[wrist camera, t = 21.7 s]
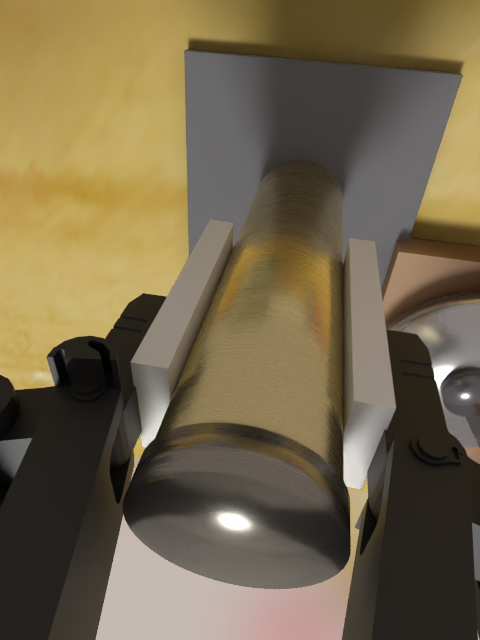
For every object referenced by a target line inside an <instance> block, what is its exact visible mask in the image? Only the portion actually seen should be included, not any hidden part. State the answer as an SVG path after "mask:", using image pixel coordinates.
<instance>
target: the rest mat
mask: <svg viewBox="0 0 480 640" xmlns="http://www.w3.org/2000/svg"><path fill="white" fill-rule="evenodd" d="M184 54H185V98H186V143H187V187H188V231H189V256H190V255H191V253H192V251H193V249H194V248H195V246H196V244H197V242H198V240H199V239H200V237H201V235H202V233H203V231H204V230H205V228H206V226H207V224H208V222H209V221H210V220H217V221H225V222H233V223H234V232H233V248H234V245H235V243H236V241H237V238H238V236H239V233H240V231H241V228H242V226H243V224H244V221H245V219H246V216H247V214H248V211H249V209H250V207H251V204H252V202H253V199H254V197H255V194H256V192H257V190H258V187H259V185H260V183H261V181H262V180H263V178H264V177H265V176H266V174H267V173H268V172H270V171H271V170H272V169H273V168H275V167H276V166H278V165H280V164H282V163H285V162H289V161H294V160H305V161H311V162H314V163H317V164H319V165H321V166H323V167H324V168H326V169H327V170H328V171H329V172H330V173H331V174H332V175H333V176H334V177H335V179H336V180H337V182H338V184H339V186H340V188H341V192H342V198H343V263H344V258H345V254H346V250H347V245H348V241H349V238H354V239H361V240H369V241H375V247H376V254H377V262H378V270H379V278H380V286H381V289H382V286H383V282H384V279H385V276H386V273H387V269H388V266H389V263H390V260H391V256H392V253H393V250H394V247H395V244H396V241H401V242H408V241H409V238H410V234H411V231H412V228H413V225H414V222H415V219H416V216H417V213H418V210H419V207H420V204H421V201H422V198H423V195H424V192H425V189H426V186H427V183H428V180H429V177H430V173H431V170H432V167H433V164H434V161H435V158H436V155H437V152H438V149H439V146H440V143H441V140H442V137H443V134H444V131H445V128H446V125H447V122H448V119H449V116H450V112H451V109H452V106H453V103H454V100H455V97H456V94H457V91H458V88H459V85H460V82H461V79H462V76H463V75H462V74H460V73H454V72H442V71H431V70H419V69H408V68H396V67H385V66H374V65H362V64H351V63H339V62H328V61H317V60H305V59H294V58H282V57H271V56H260V55H248V54H237V53H225V52H214V51H202V50H191V49H187V50H185V51H184Z"/></svg>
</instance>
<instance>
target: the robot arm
mask: <svg viewBox="0 0 480 640" xmlns="http://www.w3.org/2000/svg"><path fill="white" fill-rule="evenodd" d="M233 232H234V223H233V222H225V221H217V220H210V221H209V222H208V224H207V226H206V228H205V230H204V231H203V233H202V235H201V237H200V239H199V240H198V242H197V244H196V246H195V248H194V249H193V251H192V253H191V255H190V256H189V258H188V260H187V262H186V264H185V265H184V267H183V269H182V271H181V273H180V274H179V276H178V278H177V280H176V282H175V283H174V285H173V287H172V289H171V290H170V292H169V294H168V296H167V297H164V296H158V295H151V294H145V293H143V294H142V295H140V296H139V297H137V298H136V299H134V300H133V301H131V302H130V303H129V304H128V305H127V307H126V308H125V310H124V311H123V313H122V314H121V317H120V318H119V319H118V320H117V322H116V323H115V325H114V328H113V329H111V331H110V332H109V334H108V335H107V337H106V338H105V339H104V338H100V337H94V336H84V337H76V338H73V339H70V340H67V341H64V342H63V343H61V344H59V345H58V346H56V347H55V348H53V350H52V351H51V352H50V353H49V354H48V356H47V361H48V364H49V367H50V370H51V374H52V377H53V380H54V383H55V386H52V387H46V388H36V389H24V390H15V389H14V387H13V385H12V383H11V382H10V380H9V379H8V378H5V377H3V376H1V375H0V640H95V639H96V634H97V630H98V625H99V620H100V616H101V612H102V607H103V603H104V598H105V593H106V589H107V585H108V580H109V576H110V571H111V567H112V562H113V557H114V553H115V548H116V544H117V540H118V535H119V531H120V525H121V521H122V517H123V507H122V505H123V499H124V496H125V494H126V491H127V489H128V487H129V484H130V481H131V476H132V472H133V467H134V452H133V449H134V447H135V444H136V442H137V440H138V438H139V435H140V433H141V439H142V446H143V447H147V446H148V445H149V443H150V442H152V441H153V440H154V439H155V437H156V435H157V432H158V430H159V427H160V425H161V422H162V420H163V418H164V415H165V413H166V410H167V408H168V405H169V403H170V401H171V398H172V396H173V393H174V391H175V388H176V386H177V384H178V381H179V379H180V376H181V374H182V372H183V369H184V367H185V364H186V362H187V359H188V357H189V355H190V352H191V350H192V347H193V345H194V342H195V340H196V338H197V335H198V333H199V330H200V328H201V325H202V323H203V321H204V318H205V316H206V313H207V311H208V308H209V306H210V304H211V301H212V299H213V296H214V294H215V291H216V289H217V287H218V284H219V282H220V279H221V277H222V274H223V272H224V270H225V267H226V265H227V262H228V260H229V258H230V255H231V253H232V250H233ZM343 457H344V483H345V485H346V486H347V487H352V488H357V489H362V488H363V486H364V483H365V481H366V479H368V499H367V501H366V503H365V506H364V508H363V510H362V512H361V515H360V517H359V519H358V521H357V524H356V526H355V528H357V529H359V537H358V543H357V550H356V555H355V561H354V567H353V574H352V580H351V586H350V592H349V598H348V605H347V611H346V617H345V623H344V629H343V636H342V640H478V635H479V638H480V464H478V463H477V462H475V461H473V460H472V459H471V458H469V457H468V456H467V453H466V450H465V449H464V447H463V446H462V445H461V443H460V442H459V440H458V439H457V438H456V437H454V436H453V435H452V434H450V433H449V431H448V429H447V425H446V421H445V416H444V412H443V408H442V404H441V400H440V395H439V391H438V387H437V383H436V381H435V374H434V370H433V368H432V362H431V357H430V353H429V349H428V348H427V346H426V345H425V344H424V343H423V341H422V340H421V339H420V338H419V336H418V335H417V334H413V333H406V332H400V331H393V330H387V329H386V325H385V317H384V309H383V301H382V294H381V286H380V278H379V270H378V262H377V254H376V247H375V241H369V240H361V239H354V238H349V241H348V245H347V250H346V254H345V258H344V263H343ZM477 631H478V635H477Z"/></svg>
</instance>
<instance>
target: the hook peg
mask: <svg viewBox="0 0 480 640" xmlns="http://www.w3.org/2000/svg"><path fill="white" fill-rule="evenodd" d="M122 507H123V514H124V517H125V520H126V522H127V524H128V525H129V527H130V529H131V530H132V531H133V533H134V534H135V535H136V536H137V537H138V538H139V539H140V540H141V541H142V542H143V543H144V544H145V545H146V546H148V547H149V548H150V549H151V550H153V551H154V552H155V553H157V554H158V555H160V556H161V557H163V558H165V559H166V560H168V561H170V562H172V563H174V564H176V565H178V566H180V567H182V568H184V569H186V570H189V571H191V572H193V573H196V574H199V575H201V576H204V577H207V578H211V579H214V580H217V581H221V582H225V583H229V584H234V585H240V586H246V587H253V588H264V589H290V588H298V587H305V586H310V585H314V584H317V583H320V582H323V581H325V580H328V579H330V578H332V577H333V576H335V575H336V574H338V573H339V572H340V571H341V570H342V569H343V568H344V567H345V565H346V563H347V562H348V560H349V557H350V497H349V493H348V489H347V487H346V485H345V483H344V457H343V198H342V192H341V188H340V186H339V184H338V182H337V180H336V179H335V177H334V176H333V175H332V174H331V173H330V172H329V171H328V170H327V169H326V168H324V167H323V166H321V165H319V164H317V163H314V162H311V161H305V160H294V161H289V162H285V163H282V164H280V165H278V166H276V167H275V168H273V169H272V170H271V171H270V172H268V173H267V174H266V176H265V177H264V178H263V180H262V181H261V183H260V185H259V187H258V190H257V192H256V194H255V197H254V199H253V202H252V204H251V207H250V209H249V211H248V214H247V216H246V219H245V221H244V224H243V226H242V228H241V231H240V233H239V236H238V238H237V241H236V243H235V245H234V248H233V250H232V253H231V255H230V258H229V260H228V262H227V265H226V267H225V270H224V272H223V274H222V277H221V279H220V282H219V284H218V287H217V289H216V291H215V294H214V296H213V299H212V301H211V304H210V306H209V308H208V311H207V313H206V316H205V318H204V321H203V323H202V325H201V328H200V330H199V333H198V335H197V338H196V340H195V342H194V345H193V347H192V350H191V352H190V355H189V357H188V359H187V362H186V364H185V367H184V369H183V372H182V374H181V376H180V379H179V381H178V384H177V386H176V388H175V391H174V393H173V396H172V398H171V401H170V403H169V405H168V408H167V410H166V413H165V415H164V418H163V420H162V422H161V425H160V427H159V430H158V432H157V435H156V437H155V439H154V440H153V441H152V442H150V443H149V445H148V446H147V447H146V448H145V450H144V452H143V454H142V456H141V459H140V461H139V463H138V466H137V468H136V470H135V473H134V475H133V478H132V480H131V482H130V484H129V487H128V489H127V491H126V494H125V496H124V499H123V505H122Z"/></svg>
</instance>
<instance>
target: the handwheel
mask: <svg viewBox="0 0 480 640" xmlns="http://www.w3.org/2000/svg"><path fill="white" fill-rule="evenodd" d="M386 329H387V330H393V331H400V332H406V333H413V334H417V335H418V336H419V338H420V339H421V340H422V341H423V343H424V344H425V345H426V346H427V348H428V349H429V353H430V357H431V362H432V368H433V370H434V374H435V381H436V383H437V387H438V391H439V395H440V400H441V404H442V408H443V412H444V416H445V421H446V425H447V429H448V431H449V433H450V434H452V435H453V436H454V437H456V438H457V439H458V440H459V442H460V443H461V445H462V446H463V447H479V448H480V291H467V292H459V293H453V294H448V295H444V296H440V297H437V298H433V299H430V300H428V301H425V302H423V303H420V304H418V305H416V306H414V307H412V308H410V309H408V310H407V311H405V312H404V313H402V314H400V315H399V316H397V317H396V318H395V319H394V320H392V321H391V322H390V323H389V324H388V325H387V326H386Z"/></svg>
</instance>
